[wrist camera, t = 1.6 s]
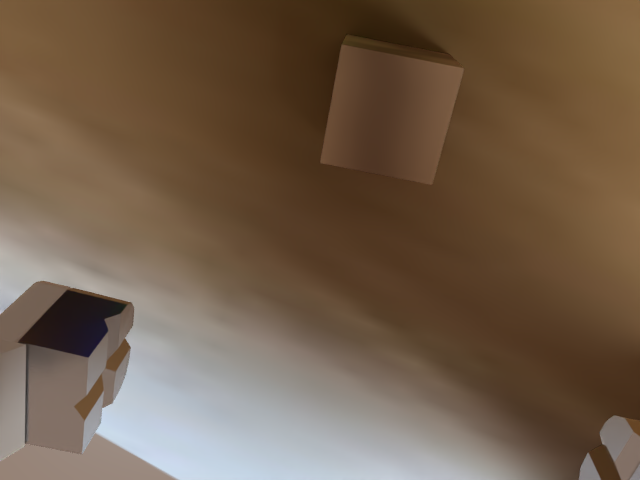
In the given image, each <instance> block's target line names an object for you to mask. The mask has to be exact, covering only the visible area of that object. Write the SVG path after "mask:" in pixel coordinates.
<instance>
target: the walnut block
mask: <svg viewBox="0 0 640 480" xmlns="http://www.w3.org/2000/svg"><path fill="white" fill-rule="evenodd" d="M463 72H464V68H463V67H462V66H461V65H460V64H459V63H458V62H457V61H456V60H455V59H454V58H453V57H452V56H451V55H450V54H446V53H441V52H435V51H430V50H425V49H420V48H415V47H410V46H405V45H400V44H394V43H389V42H384V41H379V40H374V39H369V38H364V37H359V36H353V35H348V34H346V36H345V39H344V41H343V43H342V45H341V50H340V56H339V61H338V67H337V72H336V77H335V83H334V88H333V94H332V99H331V105H330V110H329V116H328V121H327V127H326V132H325V138H324V143H323V148H322V154H321V159H320V163H322V164H327V165H332V166H338V167H343V168H348V169H353V170H358V171H363V172H368V173H373V174H378V175H383V176H389V177H394V178H399V179H404V180H409V181H414V182H419V183H424V184H429V185H433V181H434V177H435V174H436V170H437V166H438V163H439V159H440V156H441V152H442V148H443V145H444V141H445V137H446V134H447V130H448V126H449V123H450V119H451V115H452V112H453V108H454V105H455V101H456V97H457V94H458V90H459V86H460V83H461V79H462V75H463Z"/></svg>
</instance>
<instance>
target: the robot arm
mask: <svg viewBox="0 0 640 480" xmlns="http://www.w3.org/2000/svg"><path fill="white" fill-rule="evenodd" d="M133 318H134V307H133V304H132V303H131V302H127V301H123V300H119V299H115V298H111V297H107V296H103V295H99V294H95V293H91V292H87V291H83V290H79V289H75V288H70V287H67V286H63V285H59V284H54V283H50V282H46V281H40V282H36V283H34V284H33V285H32V286H31V287H30V288H29V289H28V290H26V291H25V292H24V293H23V294H22V295H21V296H20V297H19V298H18V299H17V300H16V301H15V302H13V303H12V304H11V305H10V306H9V307H8V308H7V309H6V310H5V311H4V312H3V313H1V314H0V461H2V460H3V459H5V458H7V457H8V456H10V455H12V454H13V453H15V452H17V451H18V450H20V449H21V448H23V447H24V446H25V444H31V445H36V446H41V447H46V448H52V449H57V450H62V451H67V452H72V453H77V454H82V453H83V452H84V450H85V448H86V447H87V445H88V443H89V442H90V440H91V438H92V437H93V435H94V433H95V432H96V430H97V428H98V427H99V425H100V423H101V416H102V408H104V407H106V406H108V405H110V404H112V403H113V401H114V400H115V398H116V396H117V394H118V392H119V391H120V388H121V385H122V383H123V380H124V378H125V375H126V371H127V367H128V363H129V357H130V349H131V347H130V346H129V344H128V342H127V341H126V339H125V337H126V335H127V334H128V332H129V331H130V329H131V328H132V326H133ZM599 433H600V437H601V440H602V445H600V446H599V447H597V448H595V449H593V450H591V451H589V452H588V453H587V455H586V457H585V459H584V461H583V463H582V465H581V467H580V475H579V480H640V421H639V420H634V419H630V418H625V417H621V416H616V415H614V416H613V417H611V418H610V419H609V420H607V421H606V422H605V424H604V426H603V427H602V429H601V431H600V432H599Z"/></svg>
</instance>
